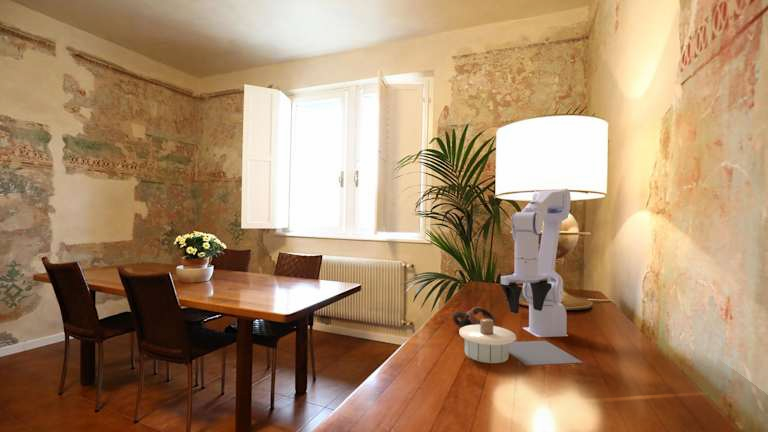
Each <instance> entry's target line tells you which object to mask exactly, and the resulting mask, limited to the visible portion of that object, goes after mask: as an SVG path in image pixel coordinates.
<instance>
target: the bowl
mask: <svg viewBox="0 0 768 432" xmlns="http://www.w3.org/2000/svg"><path fill="white" fill-rule="evenodd" d="M464 354H465V355H466V356H467V357H468V358H469V359H471V360H473V361H474V360H475V361H476V362H480V363H487V364H500V363H505V362H507V361H508V359H509V356H510V355H509V354H510V353H509V344H507V345H484V344H478V343H474V342H471V341H468V340H466V339H464Z"/></svg>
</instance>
